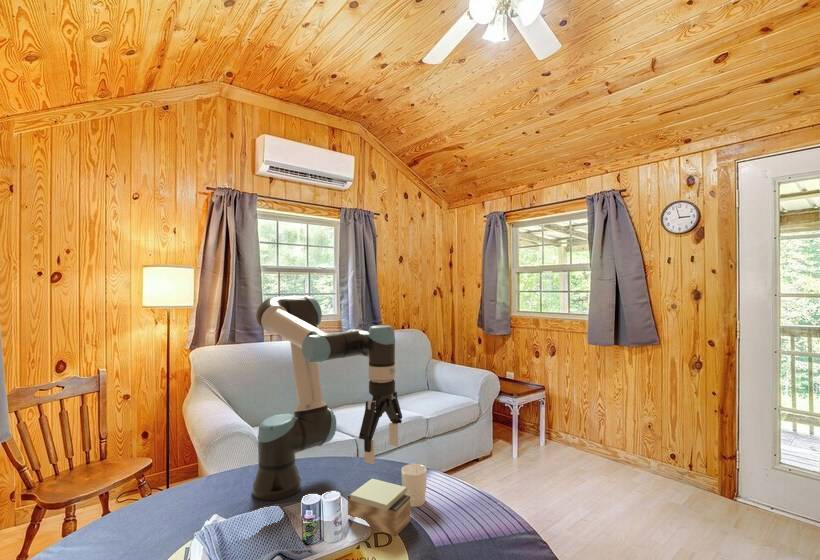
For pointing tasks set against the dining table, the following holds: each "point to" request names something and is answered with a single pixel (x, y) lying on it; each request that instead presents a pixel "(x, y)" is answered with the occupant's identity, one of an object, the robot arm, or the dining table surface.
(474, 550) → the dining table surface
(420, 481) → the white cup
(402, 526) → the stand
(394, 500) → the cover board
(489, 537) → the dining table surface
